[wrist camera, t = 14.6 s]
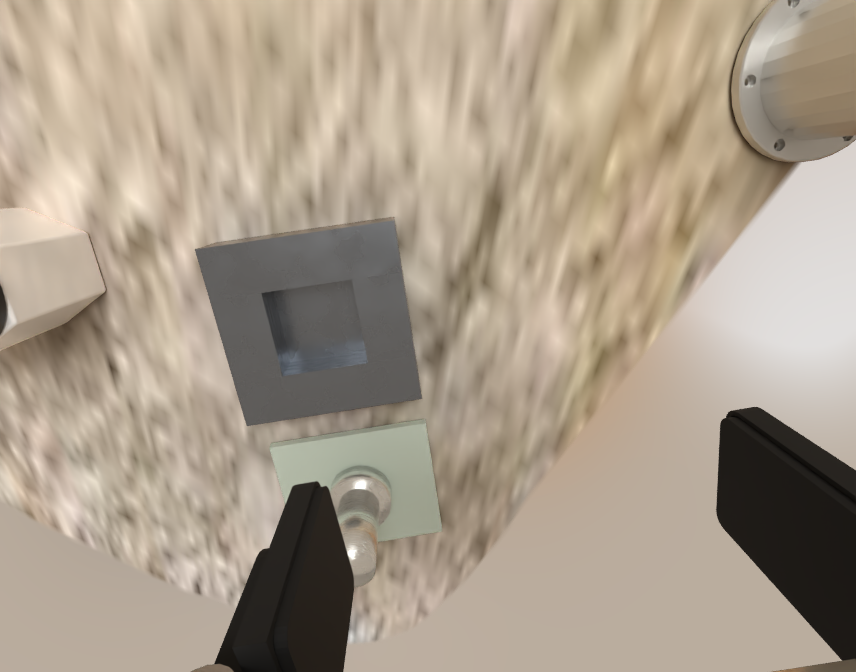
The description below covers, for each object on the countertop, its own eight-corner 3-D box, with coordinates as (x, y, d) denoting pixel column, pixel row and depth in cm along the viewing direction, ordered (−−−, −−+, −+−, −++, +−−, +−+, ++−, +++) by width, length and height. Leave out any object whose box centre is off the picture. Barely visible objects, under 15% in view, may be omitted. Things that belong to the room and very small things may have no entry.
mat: (425, 418, 42) (425, 423, 41) (441, 525, 46) (442, 531, 45) (271, 443, 42) (269, 447, 41) (301, 548, 45) (299, 555, 45)
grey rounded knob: (387, 462, 42) (384, 535, 34) (394, 512, 44) (392, 593, 35) (326, 468, 42) (307, 543, 33) (335, 518, 44) (319, 601, 35)
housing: (393, 216, 36) (394, 220, 33) (419, 378, 41) (421, 398, 37) (215, 242, 36) (194, 249, 32) (260, 403, 40) (246, 425, 37)
